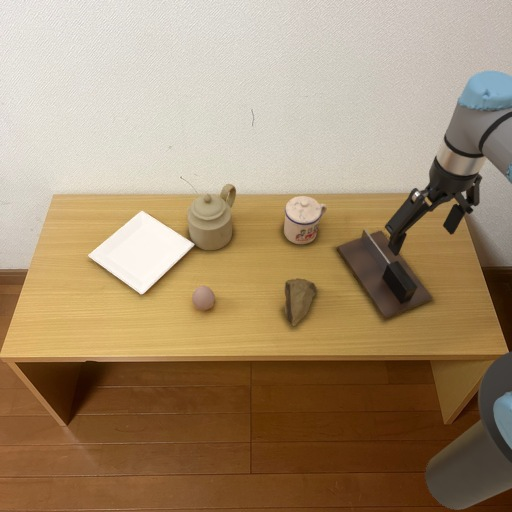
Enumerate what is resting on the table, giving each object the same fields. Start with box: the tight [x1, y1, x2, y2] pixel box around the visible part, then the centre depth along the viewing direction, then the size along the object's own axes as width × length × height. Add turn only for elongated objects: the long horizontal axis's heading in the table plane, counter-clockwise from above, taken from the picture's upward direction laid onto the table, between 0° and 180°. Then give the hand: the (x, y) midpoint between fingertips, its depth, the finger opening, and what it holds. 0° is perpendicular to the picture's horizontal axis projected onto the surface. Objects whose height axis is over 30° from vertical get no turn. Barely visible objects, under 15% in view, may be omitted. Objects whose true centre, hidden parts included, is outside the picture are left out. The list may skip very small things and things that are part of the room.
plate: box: [87, 210, 195, 295], centre depth 119 cm, size 19×19×2 cm
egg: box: [191, 285, 216, 311], centre depth 109 cm, size 5×5×7 cm
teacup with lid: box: [283, 195, 327, 245], centre depth 121 cm, size 12×9×12 cm
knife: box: [360, 228, 417, 304], centre depth 114 cm, size 20×3×6 cm, turn 24°
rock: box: [284, 277, 318, 327], centre depth 109 cm, size 11×9×10 cm
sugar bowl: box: [186, 183, 237, 251], centre depth 119 cm, size 15×11×15 cm
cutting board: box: [336, 230, 433, 321], centre depth 117 cm, size 22×13×2 cm, turn 24°
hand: (420, 240), depth 97 cm, fingers open, 13 cm apart
